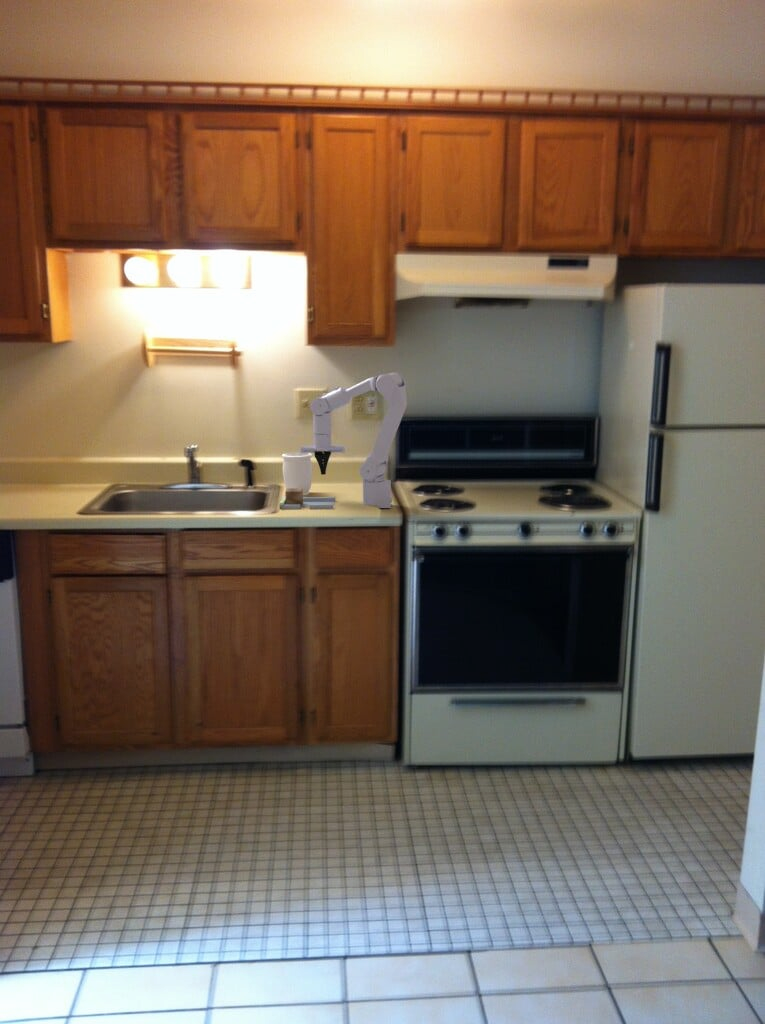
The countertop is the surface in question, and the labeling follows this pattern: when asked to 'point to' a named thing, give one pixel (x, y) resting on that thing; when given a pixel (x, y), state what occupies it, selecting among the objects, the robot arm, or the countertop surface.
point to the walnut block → (294, 496)
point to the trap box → (311, 503)
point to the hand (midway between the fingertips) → (323, 474)
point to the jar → (297, 471)
